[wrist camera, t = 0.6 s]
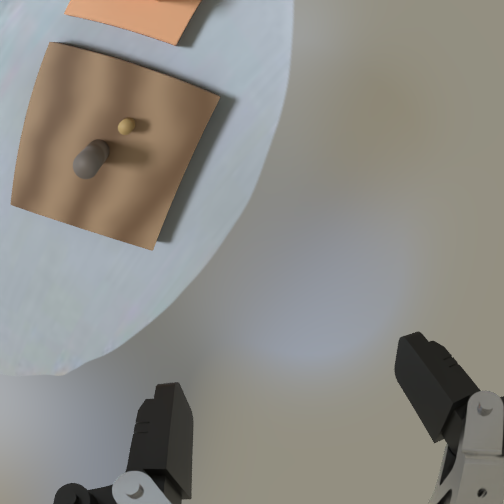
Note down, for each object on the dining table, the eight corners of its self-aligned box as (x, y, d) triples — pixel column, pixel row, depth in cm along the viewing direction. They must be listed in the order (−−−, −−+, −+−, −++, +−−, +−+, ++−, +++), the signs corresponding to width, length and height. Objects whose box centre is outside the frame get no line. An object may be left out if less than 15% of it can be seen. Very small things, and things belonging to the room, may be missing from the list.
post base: (17, 197, 29) (-7, 224, 23) (57, 42, 21) (29, 41, 16) (153, 241, 36) (150, 275, 31) (218, 95, 28) (226, 103, 23)
